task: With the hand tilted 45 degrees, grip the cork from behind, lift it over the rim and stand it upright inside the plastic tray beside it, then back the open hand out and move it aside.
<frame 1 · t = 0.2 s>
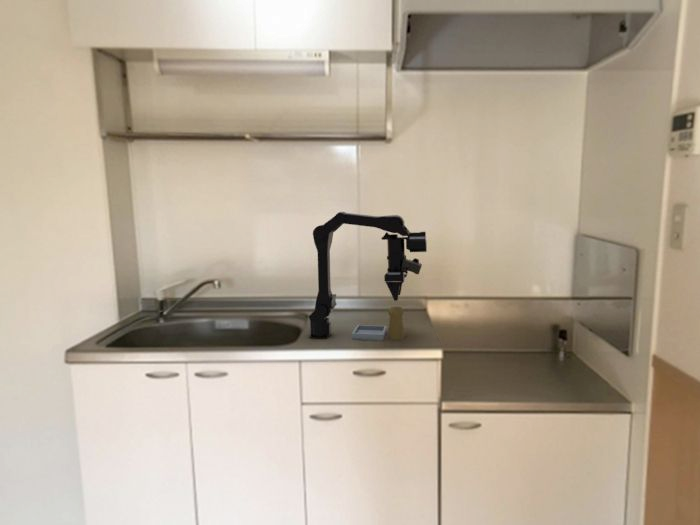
hand: (397, 297, 160), 15 cm above the worktop, tool pointing down, fingers open, 9 cm apart
cork: (396, 338, 164), on the worktop
tray: (369, 335, 167), on the worktop
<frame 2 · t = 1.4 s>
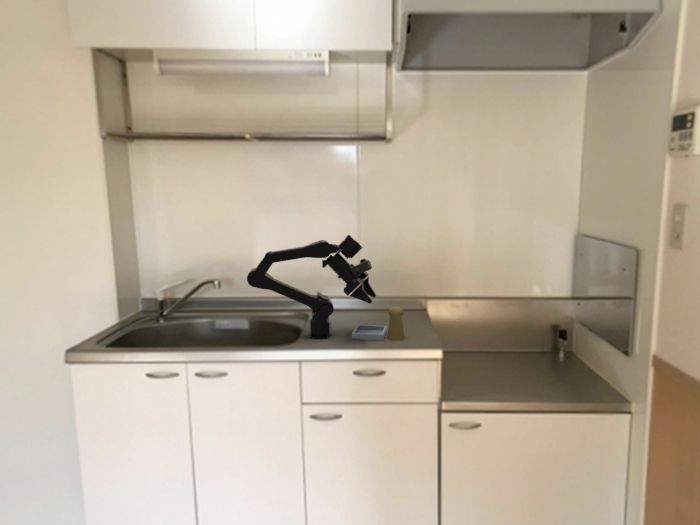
hand: (373, 299, 163), 13 cm above the worktop, tool tilted 45°, fingers open, 9 cm apart
nothing on the worktop moved.
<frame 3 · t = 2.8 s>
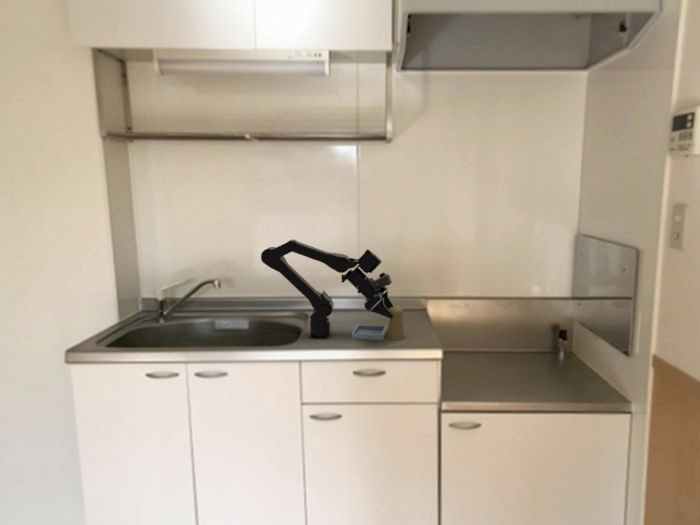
hand: (393, 314, 163), 8 cm above the worktop, tool tilted 45°, fingers open, 9 cm apart
nothing on the worktop moved.
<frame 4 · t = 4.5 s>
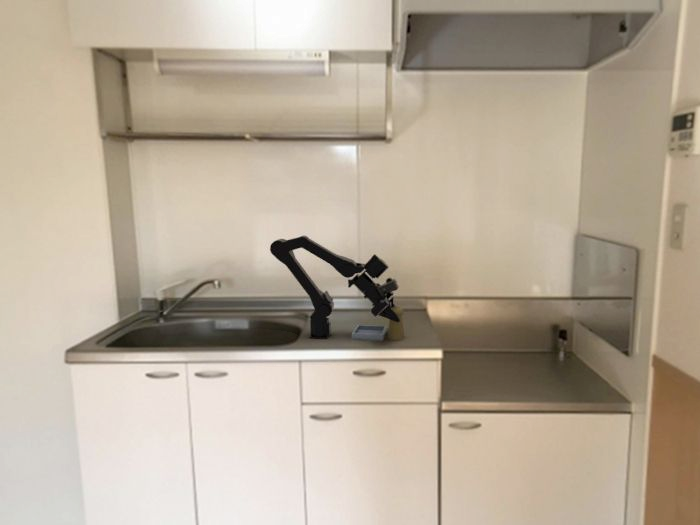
hand: (399, 319, 162), 7 cm above the worktop, tool tilted 45°, fingers closed on cork, 5 cm apart
cork: (396, 338, 164), on the worktop, touching gripper
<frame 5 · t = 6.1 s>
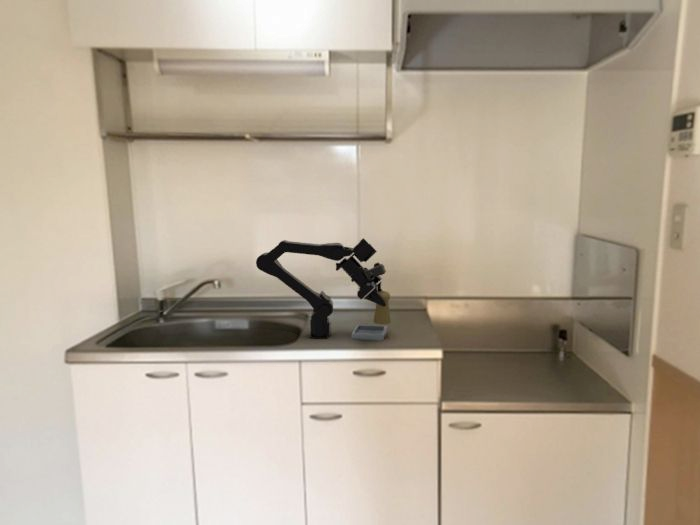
hand: (386, 304, 163), 12 cm above the worktop, tool tilted 45°, fingers closed on cork, 5 cm apart
cork: (382, 322, 164), point 5 cm above the worktop, touching gripper
when the fingers open (9 cm above the worktop, at t = 8.0 s): cork stays where it is, resting on tray.
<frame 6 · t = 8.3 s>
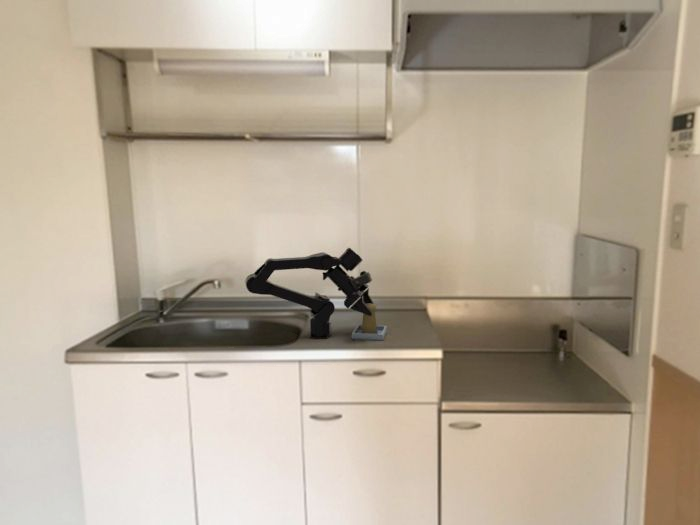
hand: (373, 311, 165), 9 cm above the worktop, tool tilted 45°, fingers open, 9 cm apart
cork: (369, 334, 166), resting on tray
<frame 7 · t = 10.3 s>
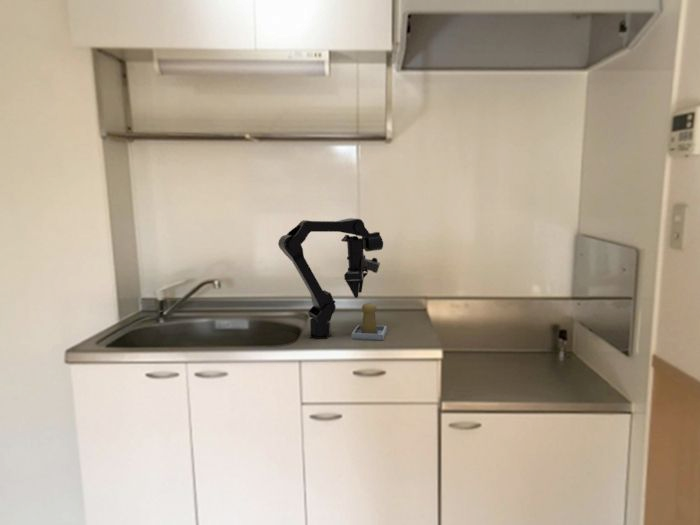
hand: (358, 295, 172), 13 cm above the worktop, tool pointing down, fingers open, 9 cm apart
nothing on the worktop moved.
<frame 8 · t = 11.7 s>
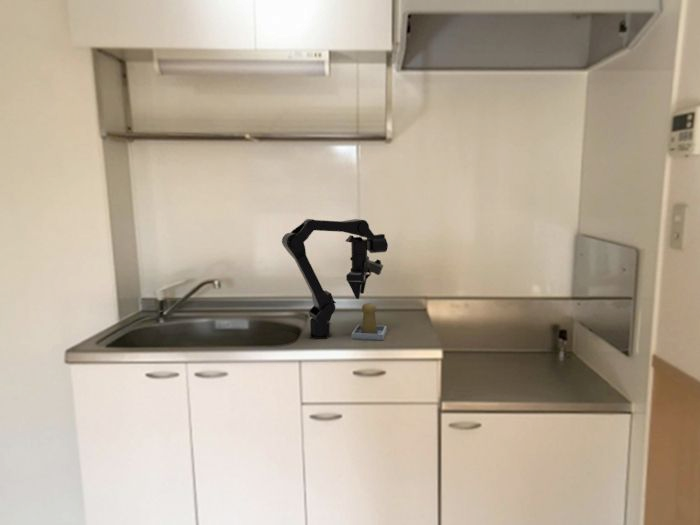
hand: (359, 296, 171), 13 cm above the worktop, tool pointing down, fingers open, 9 cm apart
nothing on the worktop moved.
at the end: cork 0.1 cm off-centre on the tray, point 0.4 cm above the tray's base; cork tilted 0°; the gripper is holding nothing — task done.
